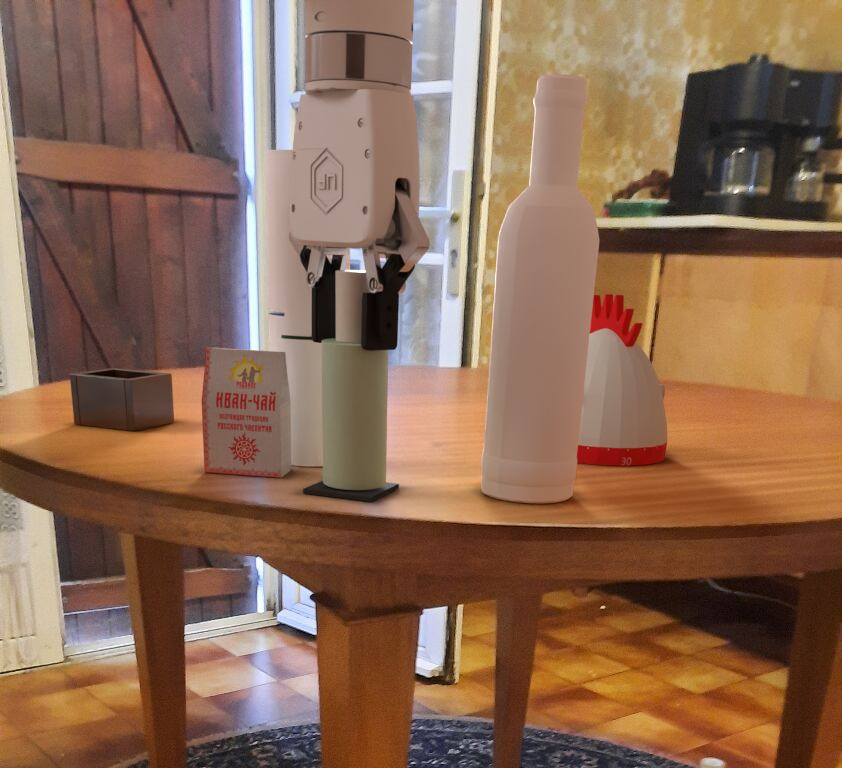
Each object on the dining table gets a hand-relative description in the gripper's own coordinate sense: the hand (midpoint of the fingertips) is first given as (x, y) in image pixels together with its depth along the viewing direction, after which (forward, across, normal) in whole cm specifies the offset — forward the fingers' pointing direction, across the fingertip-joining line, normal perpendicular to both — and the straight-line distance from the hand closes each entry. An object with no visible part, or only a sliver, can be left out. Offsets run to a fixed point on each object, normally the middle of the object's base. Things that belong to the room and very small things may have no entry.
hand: (353, 343), depth 83 cm
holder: (+11, -38, +1) cm, 40 cm away
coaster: (+11, 0, 0) cm, 11 cm away
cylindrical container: (+12, -13, +6) cm, 18 cm away
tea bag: (+12, -11, -2) cm, 16 cm away
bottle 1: (+11, 0, 0) cm, 11 cm away
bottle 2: (+12, +9, +12) cm, 19 cm away
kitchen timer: (+12, -1, +34) cm, 36 cm away
